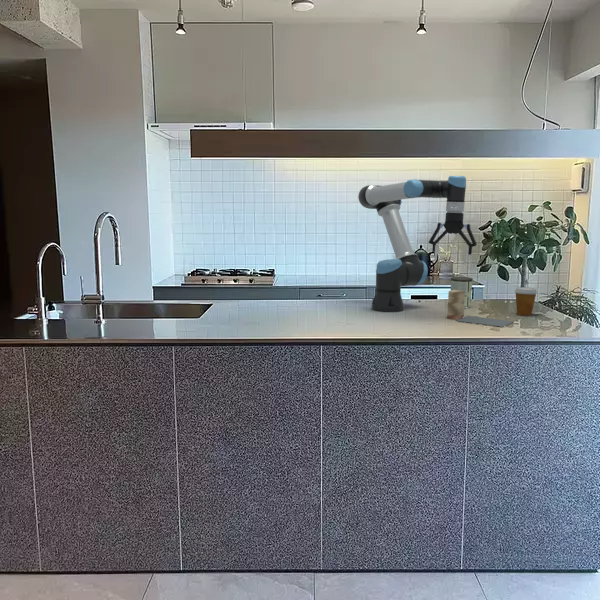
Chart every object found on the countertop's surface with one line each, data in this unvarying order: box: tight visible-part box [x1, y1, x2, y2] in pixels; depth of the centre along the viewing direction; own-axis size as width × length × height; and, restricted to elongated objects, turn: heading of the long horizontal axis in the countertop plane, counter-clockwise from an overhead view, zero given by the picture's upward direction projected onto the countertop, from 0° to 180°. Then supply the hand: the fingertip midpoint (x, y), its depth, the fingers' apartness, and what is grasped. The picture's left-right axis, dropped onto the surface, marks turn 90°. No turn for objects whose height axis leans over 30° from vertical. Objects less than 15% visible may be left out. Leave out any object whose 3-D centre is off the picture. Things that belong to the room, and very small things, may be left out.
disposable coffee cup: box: [514, 286, 538, 317], centre depth 255 cm, size 10×10×12 cm
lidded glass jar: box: [450, 276, 473, 309], centre depth 275 cm, size 10×10×14 cm
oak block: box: [446, 290, 465, 321], centre depth 245 cm, size 5×6×12 cm
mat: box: [455, 315, 515, 328], centre depth 238 cm, size 20×14×1 cm
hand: (451, 261), depth 248 cm, fingers open, 13 cm apart
